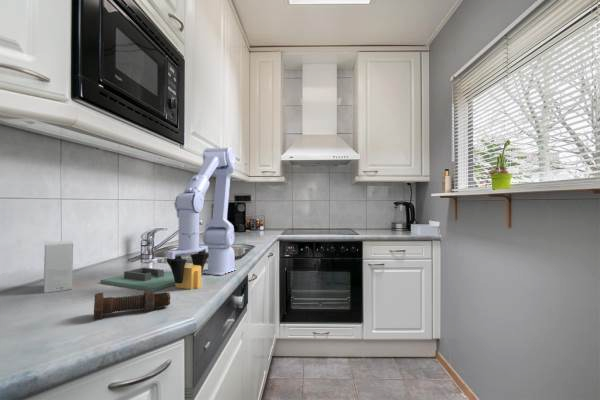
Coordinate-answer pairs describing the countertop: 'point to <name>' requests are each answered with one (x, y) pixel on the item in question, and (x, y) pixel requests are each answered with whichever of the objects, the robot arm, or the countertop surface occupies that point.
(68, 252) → the small box
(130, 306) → the bolt
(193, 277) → the yellow arched block
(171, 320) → the countertop surface
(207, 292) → the countertop surface
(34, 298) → the countertop surface
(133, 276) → the board
